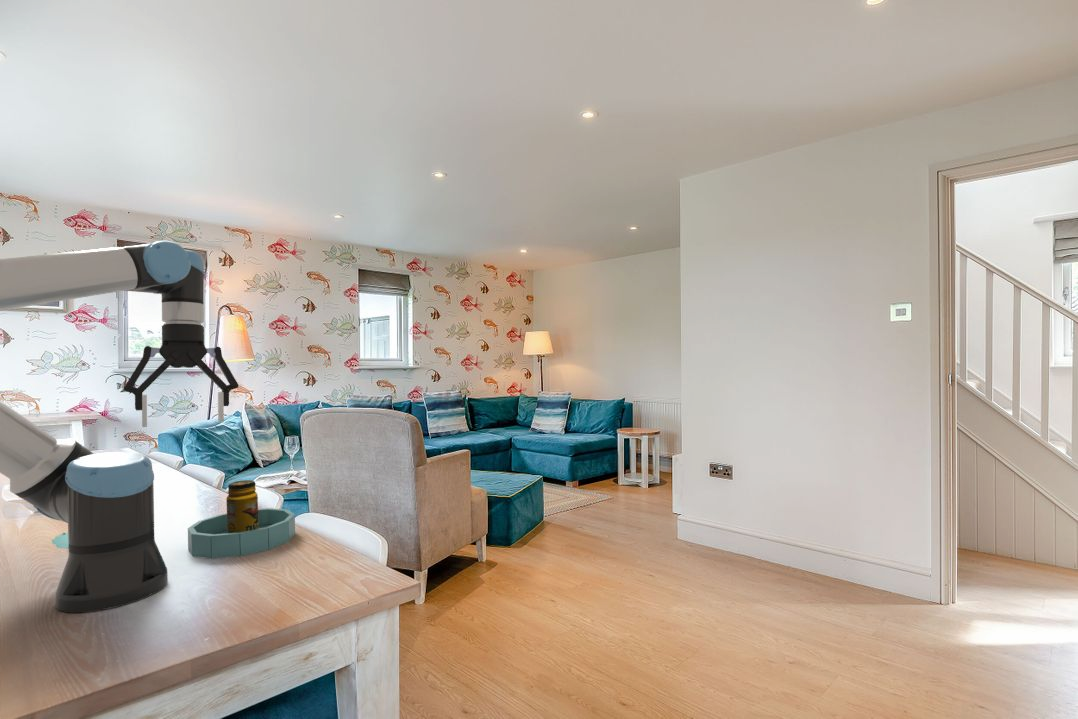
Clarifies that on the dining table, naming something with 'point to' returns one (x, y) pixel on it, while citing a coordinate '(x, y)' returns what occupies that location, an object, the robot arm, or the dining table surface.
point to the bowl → (240, 535)
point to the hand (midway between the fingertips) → (184, 424)
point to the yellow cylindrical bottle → (242, 507)
